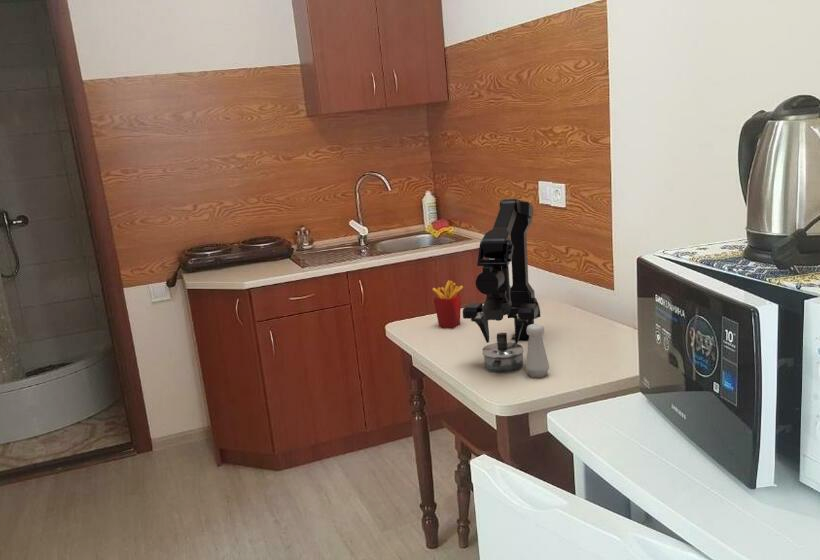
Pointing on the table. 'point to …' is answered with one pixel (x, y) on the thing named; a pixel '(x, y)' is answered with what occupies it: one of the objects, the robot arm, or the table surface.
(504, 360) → the pot
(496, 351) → the lid
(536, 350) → the salt shaker
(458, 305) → the french fries
